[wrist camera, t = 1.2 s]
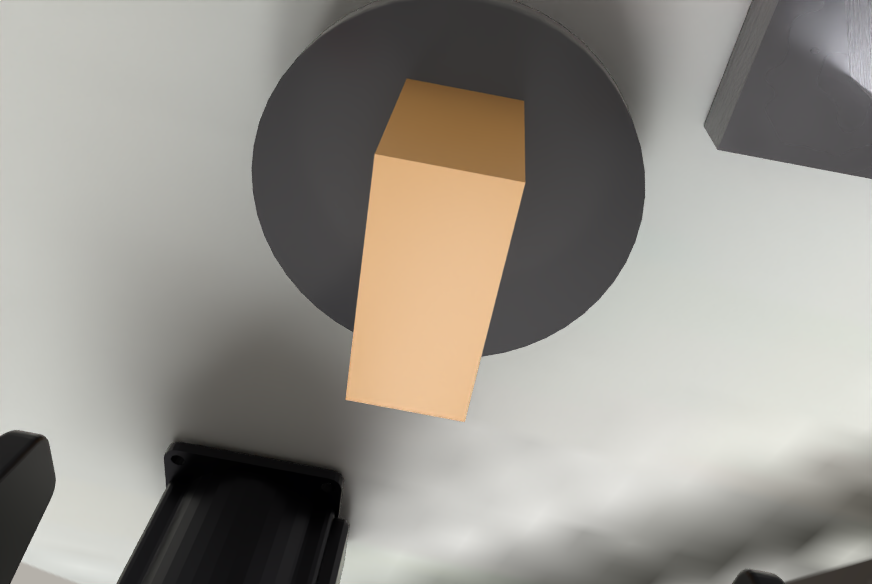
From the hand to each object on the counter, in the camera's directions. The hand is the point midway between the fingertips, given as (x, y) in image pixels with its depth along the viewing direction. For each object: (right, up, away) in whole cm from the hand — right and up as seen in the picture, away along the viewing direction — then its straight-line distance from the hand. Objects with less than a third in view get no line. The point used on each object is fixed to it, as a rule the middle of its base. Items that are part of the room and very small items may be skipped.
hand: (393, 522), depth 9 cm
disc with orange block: (+1, +7, +10) cm, 12 cm away
